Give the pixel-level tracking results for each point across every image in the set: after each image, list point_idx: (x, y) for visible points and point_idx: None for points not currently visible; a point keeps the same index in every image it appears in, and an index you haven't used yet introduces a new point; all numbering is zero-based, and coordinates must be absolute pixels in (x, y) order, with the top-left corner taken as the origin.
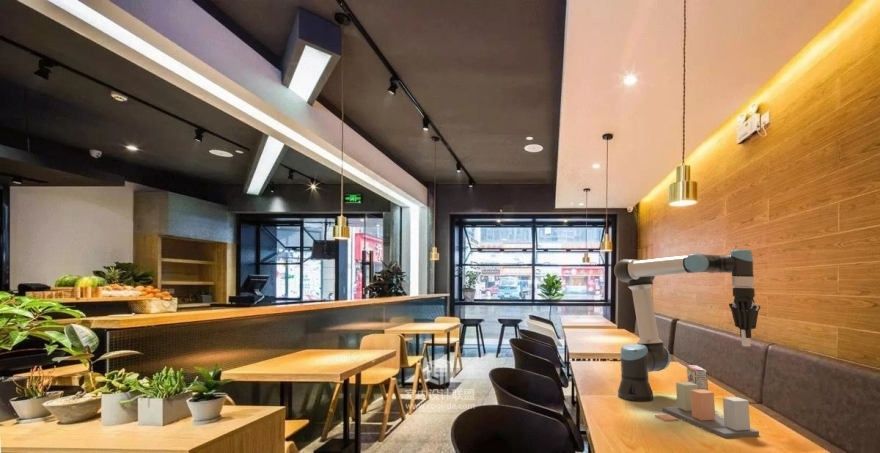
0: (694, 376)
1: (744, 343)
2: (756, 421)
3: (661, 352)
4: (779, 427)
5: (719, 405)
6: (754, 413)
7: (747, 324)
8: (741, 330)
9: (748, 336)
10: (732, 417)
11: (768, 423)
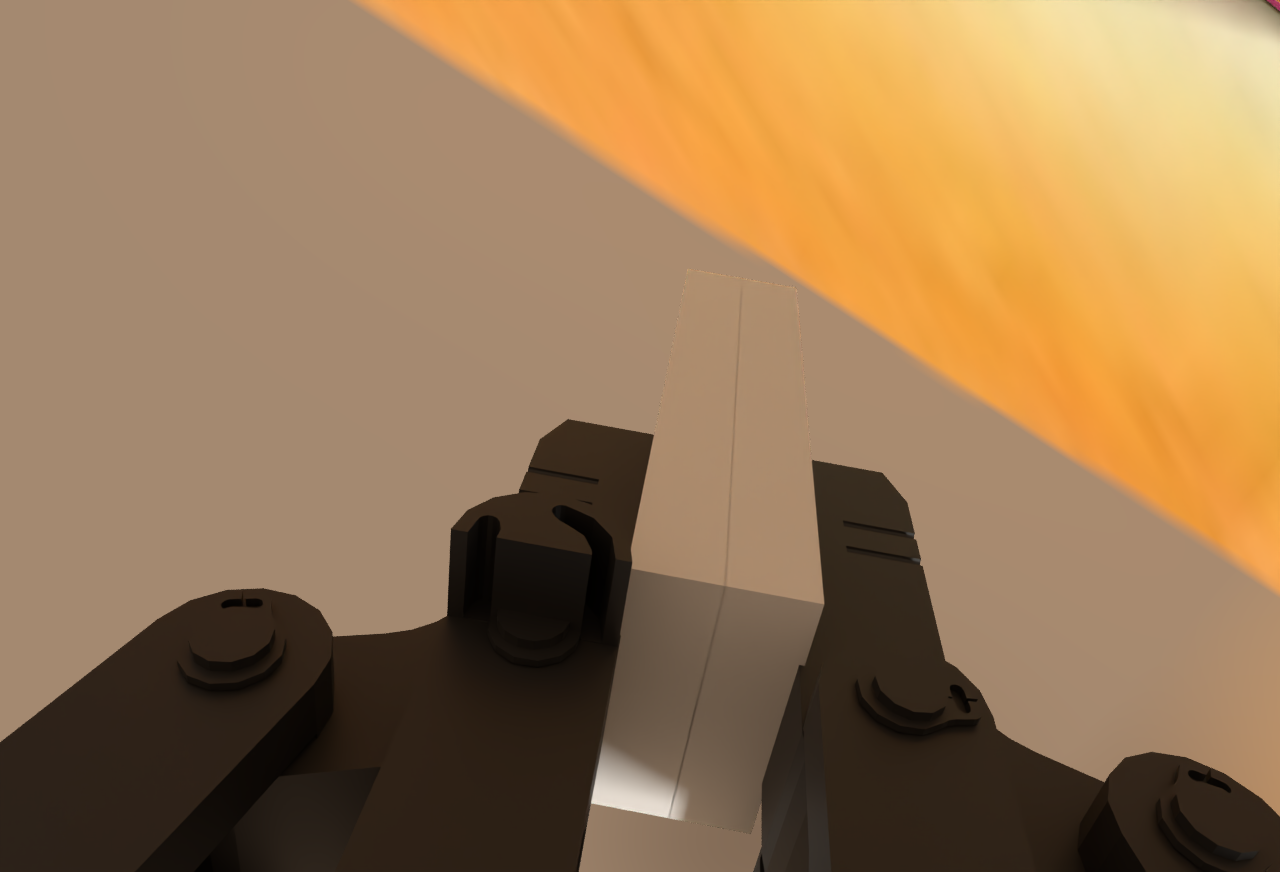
0: None
1: (695, 300)
2: (650, 9)
3: None
4: (460, 38)
5: (1154, 195)
6: (822, 255)
7: (357, 858)
8: (797, 567)
9: (539, 455)
10: None
11: (572, 62)
